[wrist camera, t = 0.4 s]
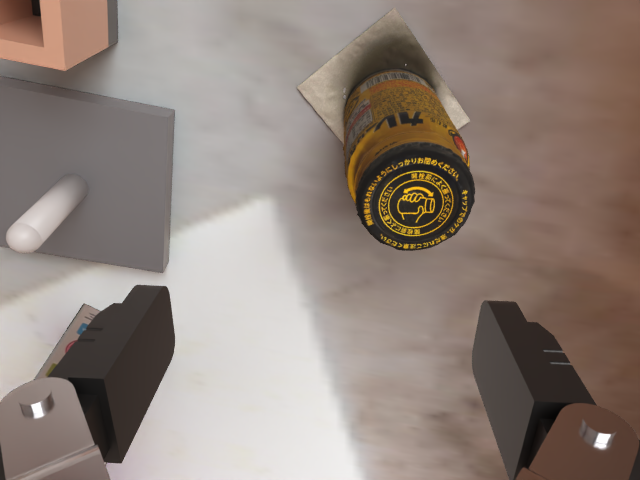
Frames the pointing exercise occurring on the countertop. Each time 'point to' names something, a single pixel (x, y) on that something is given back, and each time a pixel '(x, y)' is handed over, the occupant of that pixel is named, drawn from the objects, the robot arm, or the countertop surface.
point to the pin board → (85, 175)
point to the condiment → (396, 136)
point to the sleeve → (56, 30)
